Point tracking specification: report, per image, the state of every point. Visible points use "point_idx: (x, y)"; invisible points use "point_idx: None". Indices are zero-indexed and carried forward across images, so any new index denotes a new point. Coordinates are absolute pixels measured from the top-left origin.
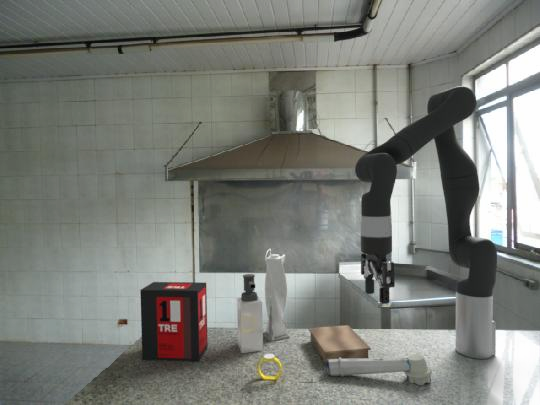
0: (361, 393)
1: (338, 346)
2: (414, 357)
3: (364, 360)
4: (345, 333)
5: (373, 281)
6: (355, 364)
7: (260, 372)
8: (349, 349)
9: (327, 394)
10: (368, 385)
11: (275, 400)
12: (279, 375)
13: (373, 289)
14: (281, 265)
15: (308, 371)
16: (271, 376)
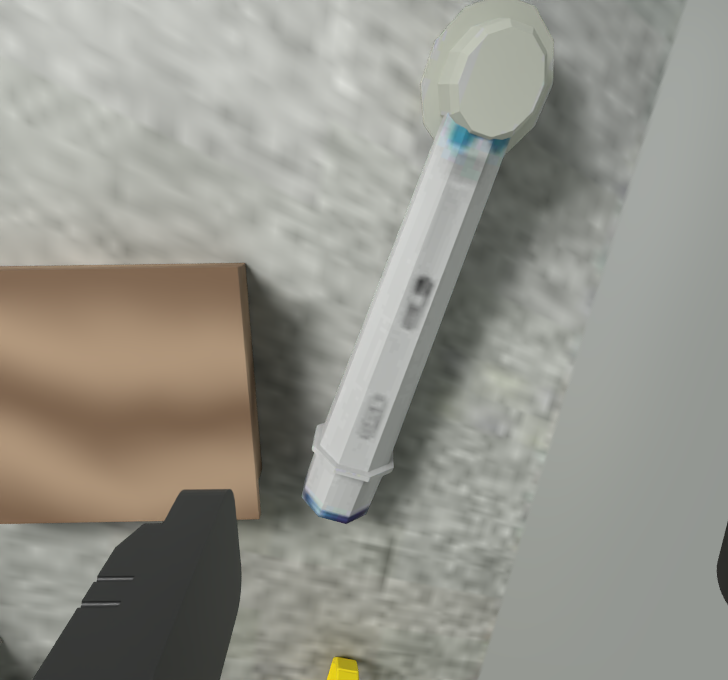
0: (513, 401)
1: (199, 437)
2: (497, 90)
3: (399, 370)
4: (5, 340)
5: (163, 675)
6: (400, 411)
7: None
8: (244, 393)
9: (486, 520)
10: (462, 351)
11: (479, 673)
12: (357, 666)
13: (215, 533)
14: None
15: (304, 546)
16: (331, 673)
